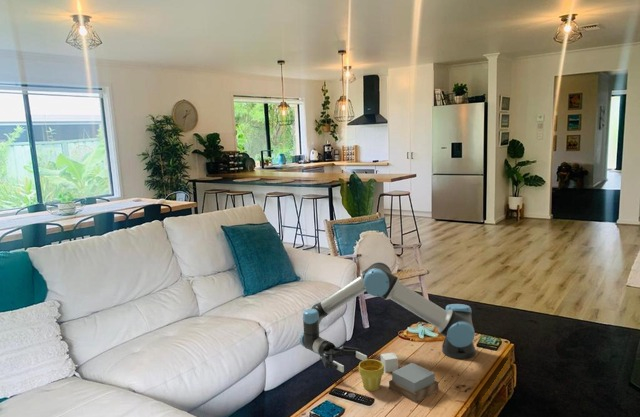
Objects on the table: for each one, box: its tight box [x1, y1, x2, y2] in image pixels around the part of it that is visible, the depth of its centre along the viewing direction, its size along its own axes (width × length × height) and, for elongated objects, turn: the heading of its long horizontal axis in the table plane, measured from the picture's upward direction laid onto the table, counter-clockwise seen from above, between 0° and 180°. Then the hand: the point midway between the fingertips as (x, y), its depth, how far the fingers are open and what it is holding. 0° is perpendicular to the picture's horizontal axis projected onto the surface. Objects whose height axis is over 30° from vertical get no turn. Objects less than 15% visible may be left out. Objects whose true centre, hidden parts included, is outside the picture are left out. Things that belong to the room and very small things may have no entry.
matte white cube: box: [380, 352, 399, 373], centre depth 206 cm, size 6×6×6 cm
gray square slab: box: [391, 362, 436, 393], centre depth 187 cm, size 12×12×4 cm
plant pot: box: [358, 358, 385, 392], centre depth 190 cm, size 10×10×10 cm
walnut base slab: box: [388, 379, 439, 404], centre depth 187 cm, size 14×14×4 cm
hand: (355, 364), depth 198 cm, fingers open, 13 cm apart
